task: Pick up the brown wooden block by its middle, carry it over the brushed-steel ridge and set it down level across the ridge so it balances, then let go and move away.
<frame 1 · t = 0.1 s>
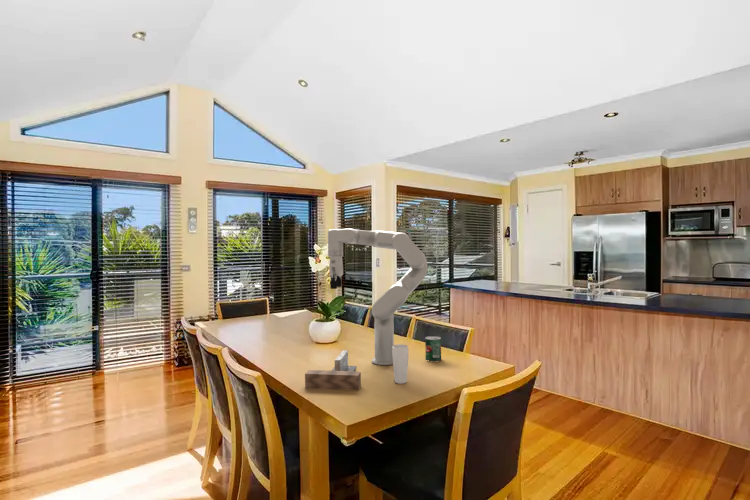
hand: (336, 287, 193), 37 cm above the table, tool pointing down, fingers open, 9 cm apart
brown wooden block: (333, 387, 157), on the table
drinking glass: (400, 382, 161), on the table
ridge stand: (341, 373, 172), on the table
canned tomato: (433, 360, 193), on the table
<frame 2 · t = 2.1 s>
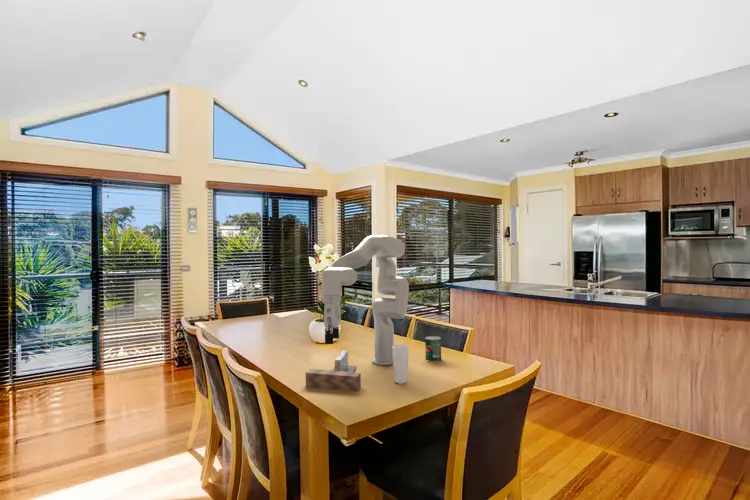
hand: (332, 340, 157), 19 cm above the table, tool pointing down, fingers open, 9 cm apart
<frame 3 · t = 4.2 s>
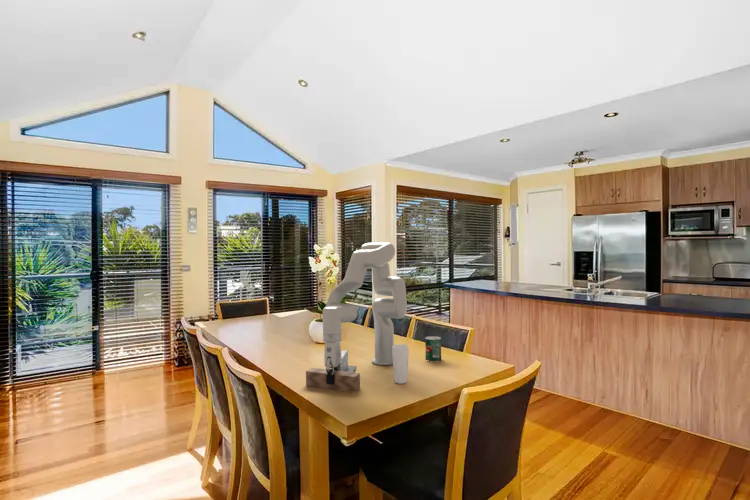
hand: (332, 380, 156), 2 cm above the table, tool pointing down, fingers closed on brown wooden block, 5 cm apart
brown wooden block: (332, 386, 156), on the table, touching gripper
everything else where it was.
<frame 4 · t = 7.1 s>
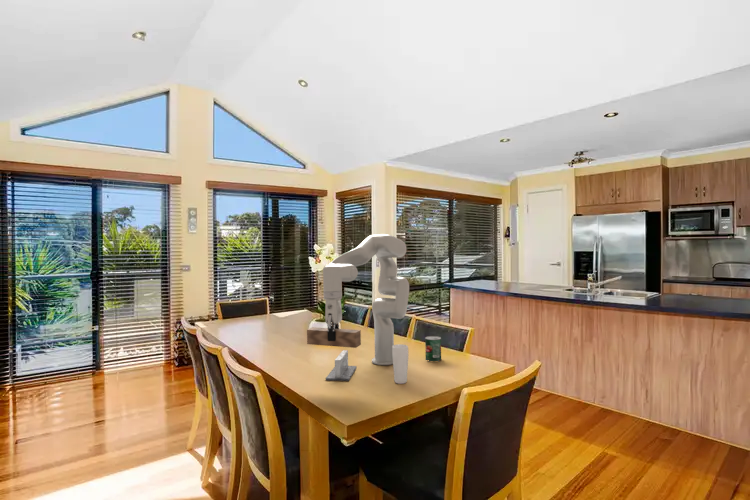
hand: (333, 338, 158), 19 cm above the table, tool pointing down, fingers closed on brown wooden block, 5 cm apart
brown wooden block: (333, 344, 158), point 17 cm above the table, touching gripper
everything else where it was.
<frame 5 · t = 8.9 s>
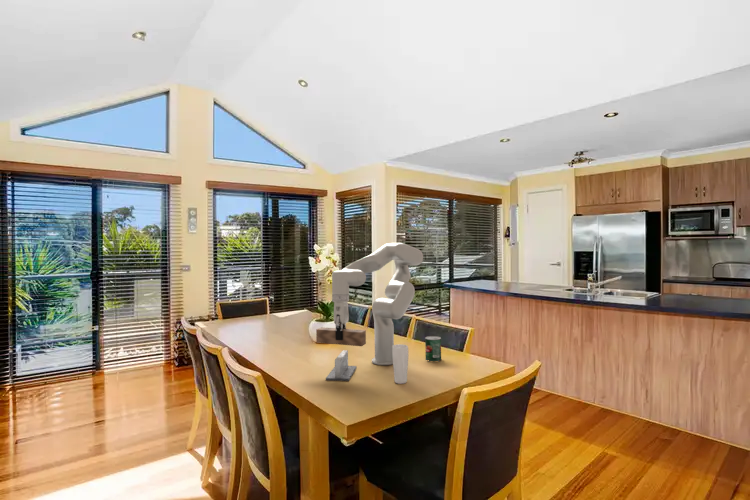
hand: (340, 337, 172), 16 cm above the table, tool pointing down, fingers closed on brown wooden block, 5 cm apart
brown wooden block: (340, 343, 172), point 14 cm above the table, touching gripper
everything else where it was.
when the fingers open (12 cm above the table, at t = 10.1 s): brown wooden block stays where it is, resting on ridge stand.
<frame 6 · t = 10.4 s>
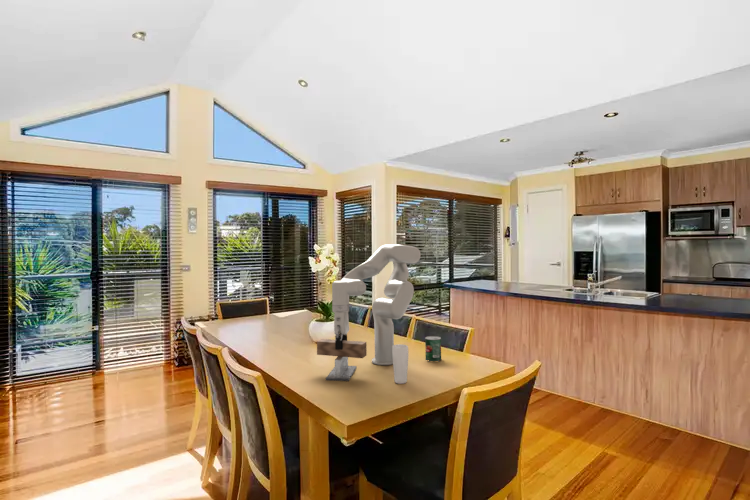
hand: (341, 346, 172), 12 cm above the table, tool pointing down, fingers open, 8 cm apart
brown wooden block: (341, 354, 172), point 8 cm above the table, touching ridge stand
everything else where it was.
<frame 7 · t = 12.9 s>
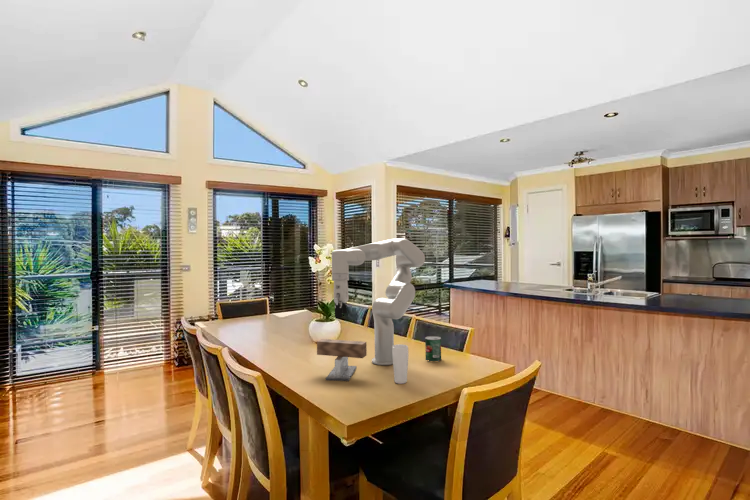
hand: (341, 315, 173), 26 cm above the table, tool pointing down, fingers open, 9 cm apart
nothing on the table moved.
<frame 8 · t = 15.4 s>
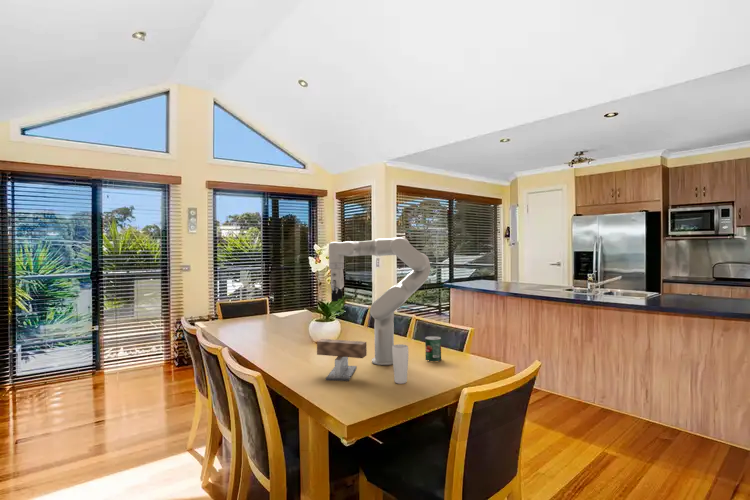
hand: (337, 299, 195), 30 cm above the table, tool pointing down, fingers open, 9 cm apart
nothing on the table moved.
at the end: brown wooden block inside the target area on the ridge stand (0.1 cm from its centre), point 8.5 cm above the ridge stand's base; brown wooden block tilted 0°; the gripper is holding nothing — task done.
